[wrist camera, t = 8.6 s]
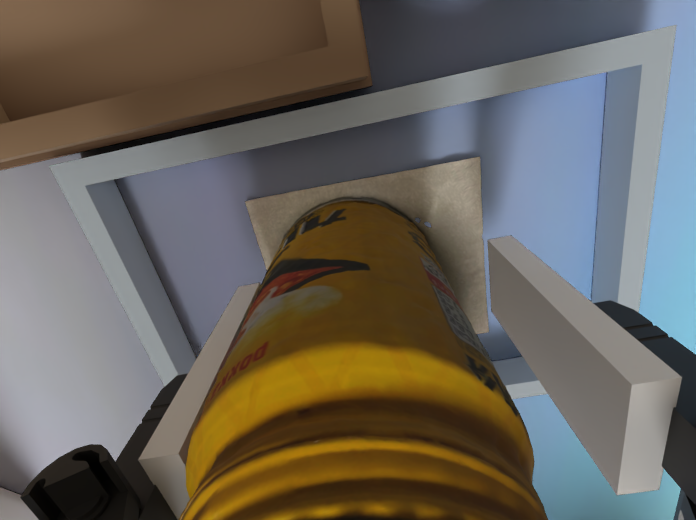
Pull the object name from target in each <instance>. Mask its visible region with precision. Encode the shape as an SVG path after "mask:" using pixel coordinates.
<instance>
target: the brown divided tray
mask: <svg viewBox="0 0 696 520" xmlns="http://www.w3.org/2000/svg"><path fill="white" fill-rule="evenodd" d="M371 86H373V85H372V79H371V72H370V66H369V60H368V54H367V48H366V41H365V35H364V29H363V23H362V17H361V10H360V4H359V0H0V170H5V169H9V168H14V167H18V166H22V165H27V164H31V163H36V162H40V161H45V160H49V159H53V158H58V157H62V156H67V155H71V154H75V153H80V152H84V151H89V150H93V149H98V148H102V147H106V146H111V145H115V144H120V143H124V142H128V141H133V140H137V139H142V138H146V137H151V136H155V135H159V134H164V133H168V132H173V131H177V130H182V129H186V128H190V127H195V126H199V125H204V124H208V123H212V122H217V121H221V120H226V119H230V118H235V117H239V116H243V115H248V114H252V113H257V112H261V111H266V110H270V109H274V108H279V107H283V106H288V105H292V104H296V103H301V102H305V101H310V100H314V99H319V98H323V97H327V96H332V95H336V94H341V93H345V92H349V91H354V90H358V89H363V88H367V87H371Z"/></svg>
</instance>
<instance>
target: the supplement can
mask: <svg viewBox="0 0 696 520" xmlns="http://www.w3.org/2000/svg"><path fill="white" fill-rule="evenodd" d="M21 496H22V495H20V494H17V493H14V492H12V491H9V490H6V489H3V488H0V520H39V519H38V518H37V517H36V516H35V515H34V513H33V512H32V511H31V510H30V509H29V508H28V506H27V505H26V504H25V503H24V502H23V501H22V500H21V498H20V497H21Z"/></svg>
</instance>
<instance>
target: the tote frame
mask: <svg viewBox="0 0 696 520" xmlns="http://www.w3.org/2000/svg"><path fill="white" fill-rule="evenodd" d="M675 33H676V25H674V26H669V27H665V28H660V29H656V30H651V31H647V32H642V33H638V34H633V35H629V36H625V37H620V38H616V39H611V40H607V41H602V42H598V43H593V44H589V45H585V46H580V47H576V48H571V49H567V50H562V51H558V52H553V53H549V54H544V55H540V56H536V57H531V58H527V59H522V60H518V61H513V62H509V63H504V64H500V65H496V66H491V67H487V68H482V69H478V70H473V71H469V72H464V73H460V74H455V75H451V76H447V77H442V78H438V79H433V80H429V81H424V82H420V83H415V84H411V85H407V86H402V87H398V88H393V89H389V90H384V91H380V92H375V93H371V94H366V95H362V96H358V97H353V98H349V99H344V100H340V101H335V102H331V103H326V104H322V105H318V106H313V107H309V108H304V109H300V110H295V111H291V112H286V113H282V114H277V115H273V116H269V117H264V118H260V119H255V120H251V121H246V122H242V123H237V124H233V125H229V126H224V127H220V128H215V129H211V130H206V131H202V132H197V133H193V134H188V135H184V136H180V137H175V138H171V139H166V140H162V141H157V142H153V143H148V144H144V145H140V146H135V147H131V148H126V149H122V150H117V151H113V152H108V153H104V154H99V155H95V156H91V157H86V158H82V159H77V160H73V161H68V162H64V163H59V164H55V165H50V166H49V168H50V169H51V171H52V173H53V175H54V177H55V179H56V181H57V183H58V185H59V187H60V188H61V190H62V192H63V194H64V196H65V198H66V200H67V202H68V204H69V206H70V208H71V209H72V211H73V213H74V215H75V217H76V219H77V221H78V223H79V225H80V227H81V229H82V230H83V232H84V234H85V236H86V238H87V240H88V242H89V244H90V246H91V248H92V250H93V251H94V253H95V255H96V257H97V259H98V261H99V263H100V265H101V267H102V269H103V271H104V272H105V274H106V276H107V278H108V280H109V282H110V284H111V286H112V288H113V290H114V292H115V293H116V295H117V297H118V299H119V301H120V303H121V305H122V307H123V309H124V311H125V312H126V314H127V316H128V318H129V320H130V322H131V324H132V326H133V328H134V330H135V332H136V333H137V335H138V337H139V339H140V341H141V343H142V345H143V347H144V349H145V351H146V353H147V354H148V356H149V358H150V360H151V362H152V364H153V366H154V368H155V370H156V372H157V374H158V375H159V377H160V379H161V381H162V383H163V385H164V387H165V386H166V385H167V384H168V383H169V382H170V381H171V380H173V379H174V378H175V377H176V376H177V375H182V374H188V373H189V371H190V369H191V368H192V366H193V364H194V362H195V361H196V357H195V355H194V353H193V350H192V348H191V346H190V344H189V342H188V340H187V337H186V335H185V333H184V331H183V329H182V326H181V324H180V322H179V320H178V318H177V316H176V313H175V311H174V309H173V307H172V305H171V303H170V300H169V298H168V296H167V294H166V292H165V290H164V287H163V285H162V283H161V281H160V279H159V277H158V274H157V272H156V270H155V268H154V266H153V264H152V261H151V259H150V257H149V255H148V253H147V251H146V248H145V246H144V244H143V242H142V240H141V238H140V235H139V233H138V231H137V229H136V227H135V225H134V222H133V220H132V218H131V216H130V214H129V211H128V209H127V207H126V205H125V203H124V201H123V198H122V196H121V194H120V192H119V190H118V188H117V185H116V183H115V181H114V179H118V178H123V177H128V176H132V175H137V174H141V173H146V172H150V171H155V170H160V169H164V168H169V167H173V166H178V165H183V164H187V163H192V162H196V161H201V160H206V159H210V158H215V157H219V156H224V155H228V154H233V153H238V152H242V151H247V150H251V149H256V148H261V147H265V146H270V145H274V144H279V143H283V142H288V141H293V140H297V139H302V138H306V137H311V136H316V135H320V134H325V133H329V132H334V131H339V130H343V129H348V128H352V127H357V126H361V125H366V124H371V123H375V122H380V121H384V120H389V119H394V118H398V117H403V116H407V115H412V114H416V113H421V112H426V111H430V110H435V109H439V108H444V107H449V106H453V105H458V104H462V103H467V102H472V101H476V100H481V99H485V98H490V97H494V96H499V95H504V94H508V93H513V92H517V91H522V90H527V89H531V88H536V87H540V86H545V85H549V84H554V83H559V82H563V81H568V80H572V79H577V78H582V77H586V76H591V75H595V74H600V73H605V72H607V85H606V99H605V113H604V127H603V142H602V156H601V170H600V184H599V199H598V213H597V227H596V241H595V255H594V270H593V284H592V298H591V302H592V303H597V302H603V301H609V300H611V301H614V302H616V303H619V304H621V305H624V306H626V307H629V308H631V309H634V310H635V311H637V312H638V313H639V306H640V298H641V291H642V283H643V275H644V268H645V260H646V253H647V245H648V237H649V230H650V222H651V215H652V207H653V200H654V192H655V184H656V177H657V169H658V162H659V154H660V147H661V139H662V131H663V124H664V116H665V109H666V101H667V93H668V86H669V78H670V71H671V63H672V56H673V48H674V40H675ZM492 363H493V365H494V367H495V369H496V371H497V373H498V375H499V376H500V379H501V380H502V382H503V384H504V385H505V386H506V388H507V391H508V392H509V394H510V396H511V399H517V398H524V397H530V396H537V395H544V394H548V393H547V392H546V390H545V389H544V387H543V386H542V384H541V383H540V381H539V380H538V378H537V377H536V376H535V374H534V373H533V371H532V370H531V368H530V367H529V365H528V364H527V362H526V361H525V359H524V358H523V357H517V358H511V359H505V360H498V361H492Z"/></svg>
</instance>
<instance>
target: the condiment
mask: <svg viewBox="0 0 696 520" xmlns="http://www.w3.org/2000/svg"><path fill="white" fill-rule="evenodd" d="M245 204H246V207H247V210H248V213H249V217H250V219H251V223H252V226H253V229H254V233H255V235H256V238H257V242H258V245H259V247H260V250H261V254H262V257H263V260H264V263H265V267H266V270H267V272H266V275H265V277H264V279H263V282H262V284H261V286H260V288H259V289H258V291H257V294H256V298H255V300H254V302H253V305H252V307H251V308H250V310H249V312H248V315H247V317H246V319H245V321H244V323H243V325H242V328H241V331H240V333H239V335H238V337H237V339H236V341H235V344H234V345H233V347H232V349H231V352H230V354H229V356H228V357H227V360H226V362H225V365H224V367H223V368H222V369H221V371H220V372H219V373H218V376H217V380H216V383H215V384H214V386H213V388H212V389H211V391H210V393H209V395H208V397H207V399H206V401H205V405H204V408H203V412H202V415H201V417H200V419H199V421H198V423H197V424H196V426H195V428H194V430H193V432H192V436H191V440H190V444H189V449H188V456H187V461H186V488H187V492H188V495H189V498H190V500H189V502H188V503H187V506H186V508H185V509H184V511H183V512H182V514H181V516H180V518H179V520H548V518H547V516H546V513H545V510H544V506H543V504H542V502H541V500H540V498H539V496H538V494H537V492H536V491H535V489H534V487H533V486H532V476H533V468H534V456H533V449H532V446H531V443H530V439H529V436H528V433H527V430H526V427H525V425H524V422H523V420H522V418H521V416H520V413H519V411H518V410H517V408H516V407H515V405H514V403H513V401H512V399H511V396H510V394H509V392H508V391H507V388H506V386H505V385H504V384H503V382H502V380H501V379H500V376H499V375H498V373H497V371H496V369H495V367H494V365H493V363H492V361H491V359H490V357H489V355H488V353H487V352H486V350H485V348H484V347H483V345H482V343H481V342H480V340H479V338H478V336H477V334H481V333H487V332H489V327H488V315H487V301H486V284H485V269H484V244H483V239H482V234H483V220H482V200H481V167H480V157H475V158H470V159H464V160H460V161H455V162H449V163H443V164H438V165H433V166H429V167H424V168H418V169H413V170H408V171H401V172H397V173H392V174H385V175H380V176H375V177H369V178H363V179H357V180H352V181H346V182H340V183H336V184H330V185H326V186H320V187H314V188H310V189H304V190H298V191H293V192H288V193H284V194H278V195H272V196H267V197H262V198H257V199H253V200H249V201H245ZM415 218H419V219H421V220H420V222H419V223H418V222H416V221H415ZM425 222H429V223H430V224H431V228H430V227H427V226H425V224H424V223H425Z"/></svg>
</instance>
